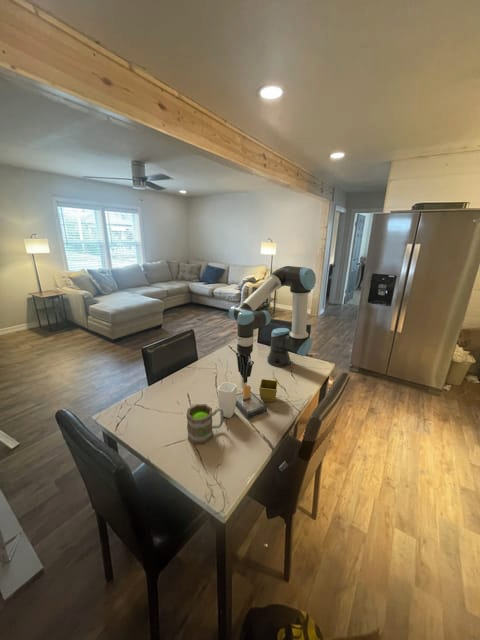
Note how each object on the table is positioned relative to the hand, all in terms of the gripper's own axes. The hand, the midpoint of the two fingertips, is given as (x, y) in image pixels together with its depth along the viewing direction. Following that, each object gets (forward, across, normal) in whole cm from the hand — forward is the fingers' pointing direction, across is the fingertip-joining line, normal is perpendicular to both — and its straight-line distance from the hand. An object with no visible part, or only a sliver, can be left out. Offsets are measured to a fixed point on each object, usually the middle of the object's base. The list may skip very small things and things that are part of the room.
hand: (243, 387), depth 131 cm
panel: (+9, +5, 0) cm, 10 cm away
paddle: (+5, +3, 0) cm, 5 cm away
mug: (+9, +12, -26) cm, 30 cm away
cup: (+9, +5, -12) cm, 15 cm away
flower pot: (+9, +4, +12) cm, 16 cm away
